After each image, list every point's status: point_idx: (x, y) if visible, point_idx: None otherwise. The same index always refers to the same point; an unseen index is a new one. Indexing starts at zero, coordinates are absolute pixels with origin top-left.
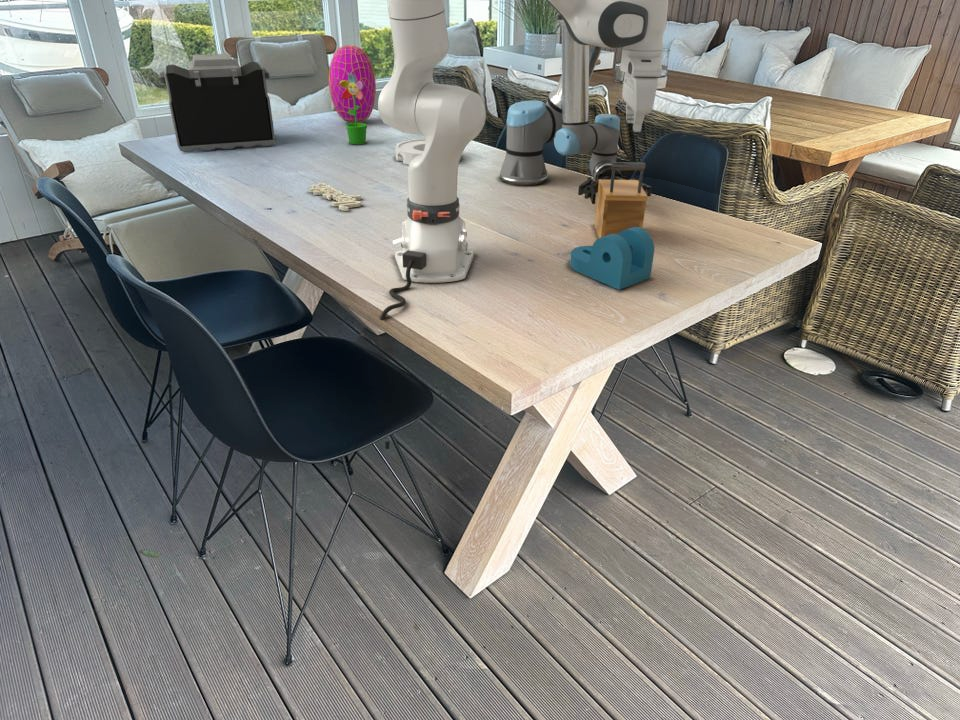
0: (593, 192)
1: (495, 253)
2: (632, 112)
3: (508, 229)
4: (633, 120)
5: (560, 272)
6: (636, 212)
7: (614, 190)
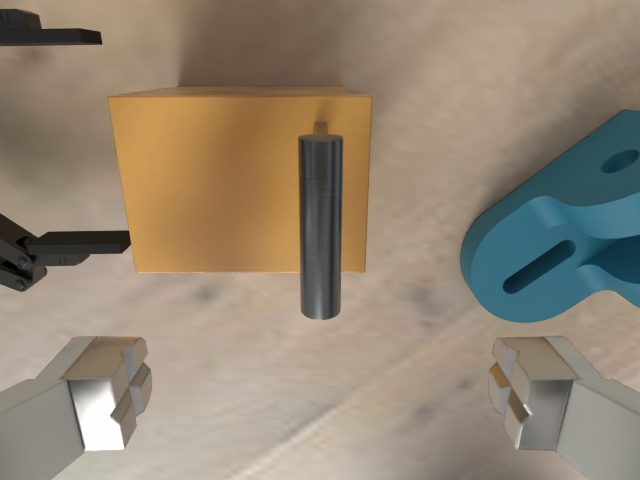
0: (101, 250)
1: (417, 447)
2: (44, 417)
3: (255, 423)
4: (134, 352)
5: (544, 326)
6: None
7: (294, 231)
